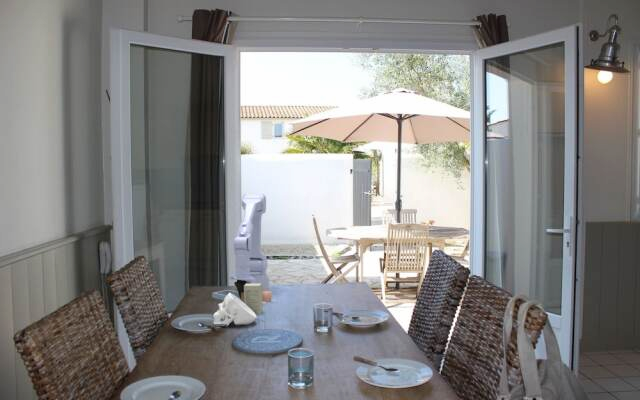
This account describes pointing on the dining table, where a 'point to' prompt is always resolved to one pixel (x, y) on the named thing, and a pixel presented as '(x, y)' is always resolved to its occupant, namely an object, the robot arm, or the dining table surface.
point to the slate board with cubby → (223, 294)
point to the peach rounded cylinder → (266, 296)
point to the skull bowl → (233, 312)
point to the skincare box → (253, 297)
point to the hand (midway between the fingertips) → (242, 299)
